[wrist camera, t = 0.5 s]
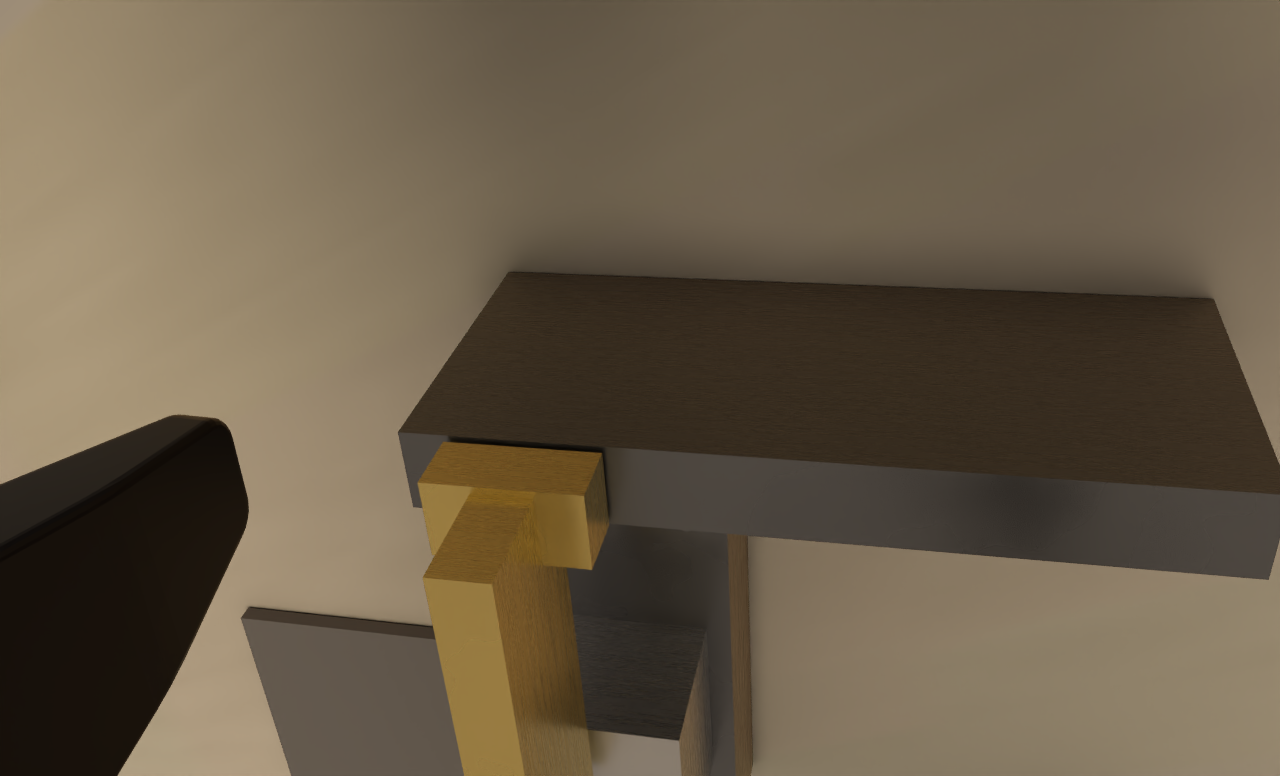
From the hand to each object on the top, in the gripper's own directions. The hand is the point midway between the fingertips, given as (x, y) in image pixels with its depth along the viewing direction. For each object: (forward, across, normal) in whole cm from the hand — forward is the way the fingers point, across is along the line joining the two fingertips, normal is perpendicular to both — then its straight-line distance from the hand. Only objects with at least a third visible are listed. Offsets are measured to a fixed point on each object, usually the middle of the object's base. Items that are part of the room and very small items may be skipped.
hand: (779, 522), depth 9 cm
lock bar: (+8, +5, +9) cm, 13 cm away
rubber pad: (+14, +12, +19) cm, 26 cm away
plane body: (+14, 0, +11) cm, 18 cm away
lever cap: (+11, +5, +13) cm, 18 cm away
